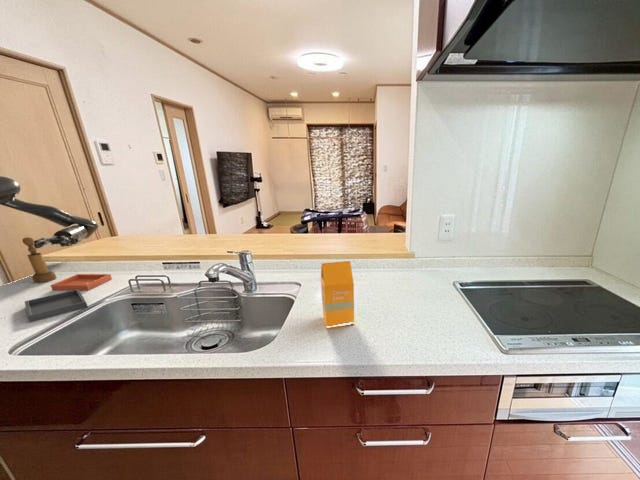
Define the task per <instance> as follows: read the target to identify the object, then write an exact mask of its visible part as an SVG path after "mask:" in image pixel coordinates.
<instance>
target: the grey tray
mask: <svg viewBox="0 0 640 480" xmlns="http://www.w3.org/2000/svg"><path fill="white" fill-rule="evenodd" d="M24 305H25V311H26V312H25V313H26V317H27V319H28V321H29V323H33V322H37V321H40V320H44V319H49V318H52V317H56V316H60V315H63V314H67V313H71V312H74V311H78V310H82V309H86V308H89V306H88V304H87V301H86V299H85V298H84V296H83V294H82V292H81V290H79V289H76V290H67V291H64V292H60V293H55V294H50V295H46V296H41V297H37V298H33V299H29V300H24Z"/></svg>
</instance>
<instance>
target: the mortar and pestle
mask: <svg viewBox="0 0 640 480" xmlns="http://www.w3.org/2000/svg"><path fill="white" fill-rule="evenodd" d="M21 241H22V243H23V244H24V245H26V246H27V251H28V252H29V254H27V255H26V256H27V258H28V261H29V262H30V265H31V267H32V269H33V271H34V274H33V275H32V276H31V279H32V282H33V283H38V284H39V283H46V282H50V281H54V280H56V279H57V275H56V273H55V271H51V270H50V269H49V268H48V266H47V264H46V261H45V259H44V257H43V255H42V252H37V248H35V247H34V245H33V244H34V241H35V240H34V238H32V237H29V236H28V237H27V236H26V237H23V238H22V240H21Z"/></svg>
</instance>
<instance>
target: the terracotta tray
mask: <svg viewBox="0 0 640 480" xmlns="http://www.w3.org/2000/svg"><path fill="white" fill-rule="evenodd" d="M112 279H113V278H112V274H110V273H76V274H73V275H72V276H69V277H66V278H64V279H63V280H62V279H61V280H60V281H57V282H54V283H52V284H50V285H49V286H50V288H51V290H52V291H72V290H76V289H79V291H90V290H92V289H95V288H96V287H98V286H100V285H102V284H104V283H106V282H108V281H111V280H112Z"/></svg>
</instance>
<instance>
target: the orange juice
mask: <svg viewBox="0 0 640 480" xmlns="http://www.w3.org/2000/svg"><path fill="white" fill-rule="evenodd" d="M353 278H354V277H353V270H352V264H351V260H348V261H336V262H323V263H321V270H320V285H321V286H320V287H321V303H322V305H321V306H322V319H323V322H324V324H325V323H326V325H325V329H326V330H329V329H337V328H343V327H342V326H338V327H331V328H326V326H333V325H338V324H343V323H349V322H354V323H355V293H354V292H355V287H354V284H355V283H354V279H353ZM323 316H324V318H323ZM324 320H325V321H324Z"/></svg>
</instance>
